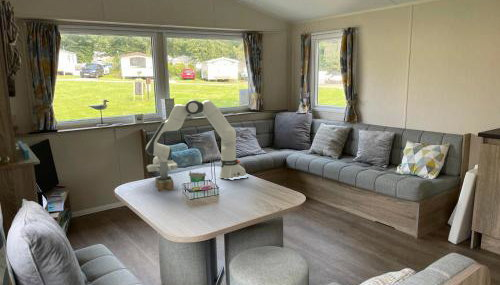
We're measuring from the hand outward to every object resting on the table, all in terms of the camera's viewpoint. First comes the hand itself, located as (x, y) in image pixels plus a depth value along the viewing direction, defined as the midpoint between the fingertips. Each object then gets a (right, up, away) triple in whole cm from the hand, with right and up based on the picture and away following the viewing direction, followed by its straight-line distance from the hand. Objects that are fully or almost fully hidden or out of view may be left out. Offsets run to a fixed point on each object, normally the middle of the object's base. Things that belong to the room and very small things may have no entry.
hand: (164, 169), depth 252 cm
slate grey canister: (0, -6, +2) cm, 7 cm away
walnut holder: (-1, -13, +3) cm, 13 cm away
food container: (+21, -13, +6) cm, 25 cm away
